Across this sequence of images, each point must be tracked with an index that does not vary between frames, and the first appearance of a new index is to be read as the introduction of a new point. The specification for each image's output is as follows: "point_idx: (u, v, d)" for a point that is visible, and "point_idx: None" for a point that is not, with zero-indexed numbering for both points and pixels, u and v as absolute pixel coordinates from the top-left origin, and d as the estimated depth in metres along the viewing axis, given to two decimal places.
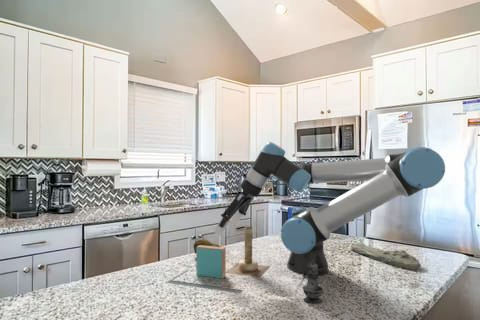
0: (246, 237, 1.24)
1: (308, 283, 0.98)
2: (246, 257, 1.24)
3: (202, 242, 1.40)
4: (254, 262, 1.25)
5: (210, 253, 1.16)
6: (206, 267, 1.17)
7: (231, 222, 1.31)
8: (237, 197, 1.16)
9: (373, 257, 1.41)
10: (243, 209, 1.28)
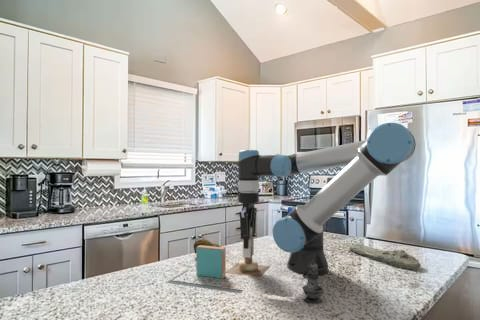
0: None
1: (308, 283, 0.98)
2: (246, 257, 1.24)
3: (202, 242, 1.40)
4: (254, 262, 1.25)
5: (210, 253, 1.16)
6: (206, 267, 1.17)
7: None
8: (241, 216, 1.19)
9: (372, 257, 1.41)
10: None
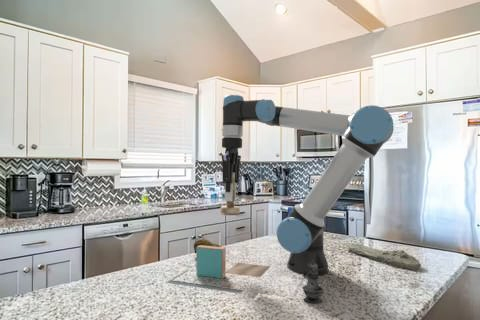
0: None
1: (308, 283, 0.98)
2: (228, 201, 1.25)
3: (202, 242, 1.40)
4: (236, 207, 1.27)
5: (210, 253, 1.16)
6: (206, 267, 1.17)
7: None
8: (223, 159, 1.21)
9: (372, 257, 1.41)
10: None
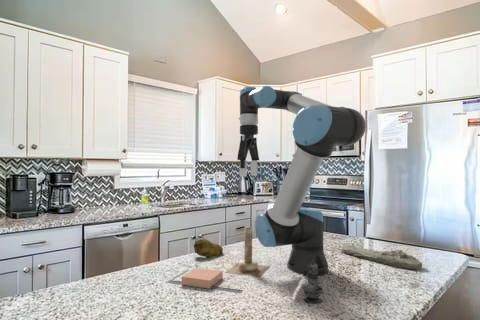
0: (246, 237, 1.24)
1: (308, 283, 0.98)
2: (246, 257, 1.24)
3: (202, 242, 1.41)
4: (254, 262, 1.25)
5: None
6: None
7: (251, 171, 1.47)
8: (241, 138, 1.35)
9: (371, 259, 1.39)
10: (254, 154, 1.46)
